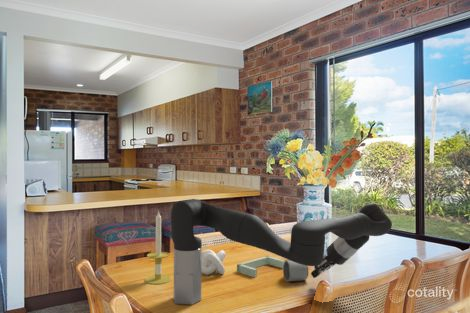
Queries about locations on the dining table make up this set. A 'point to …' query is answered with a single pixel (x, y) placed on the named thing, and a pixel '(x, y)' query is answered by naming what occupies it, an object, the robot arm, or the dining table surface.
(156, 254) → the candle
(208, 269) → the white knot sculpture
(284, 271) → the ceramic mug
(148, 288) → the dining table surface
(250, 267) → the u-shaped bracket
